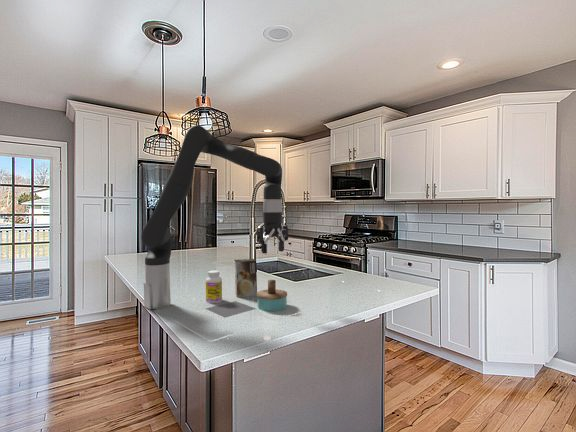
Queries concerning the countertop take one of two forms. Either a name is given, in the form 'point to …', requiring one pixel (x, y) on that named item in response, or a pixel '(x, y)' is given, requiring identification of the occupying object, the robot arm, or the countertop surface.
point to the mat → (230, 309)
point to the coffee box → (245, 278)
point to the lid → (271, 292)
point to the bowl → (272, 304)
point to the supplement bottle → (213, 287)
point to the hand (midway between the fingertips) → (273, 252)
